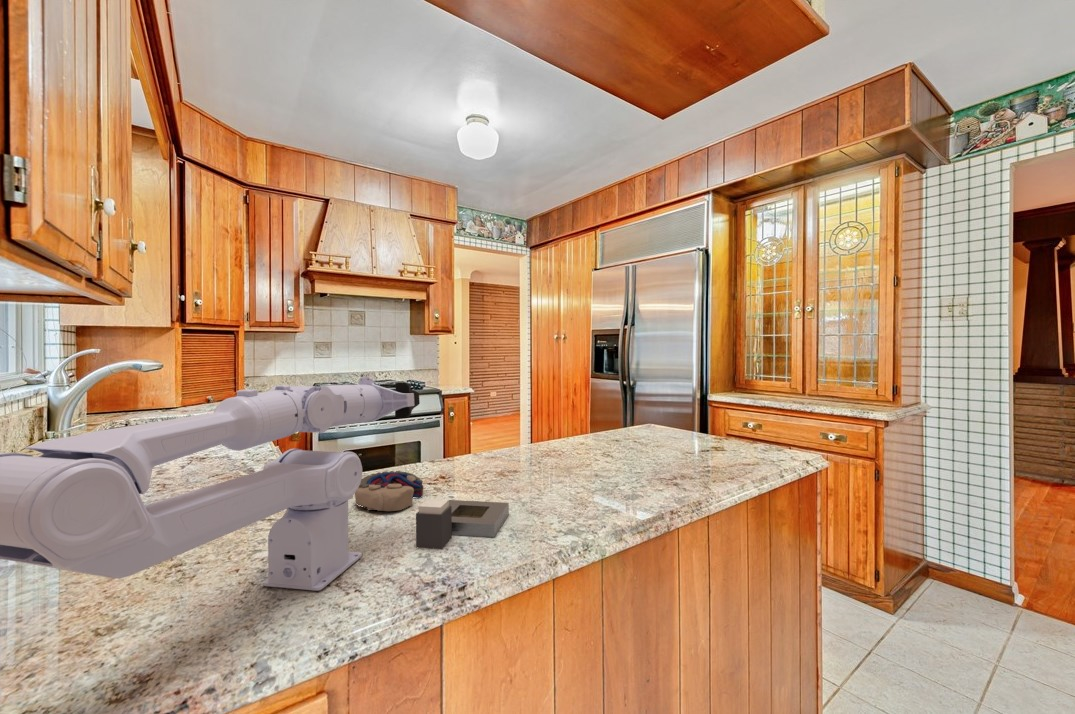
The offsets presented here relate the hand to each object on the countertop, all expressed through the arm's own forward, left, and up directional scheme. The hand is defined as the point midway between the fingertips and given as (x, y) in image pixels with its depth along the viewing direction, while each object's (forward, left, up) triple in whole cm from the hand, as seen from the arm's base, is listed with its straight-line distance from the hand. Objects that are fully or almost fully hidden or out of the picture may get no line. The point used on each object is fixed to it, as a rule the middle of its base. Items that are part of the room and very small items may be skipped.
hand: (397, 399), depth 78 cm
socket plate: (-2, -14, -20) cm, 24 cm away
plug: (-10, -11, -20) cm, 25 cm away
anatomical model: (+7, +5, -21) cm, 23 cm away
